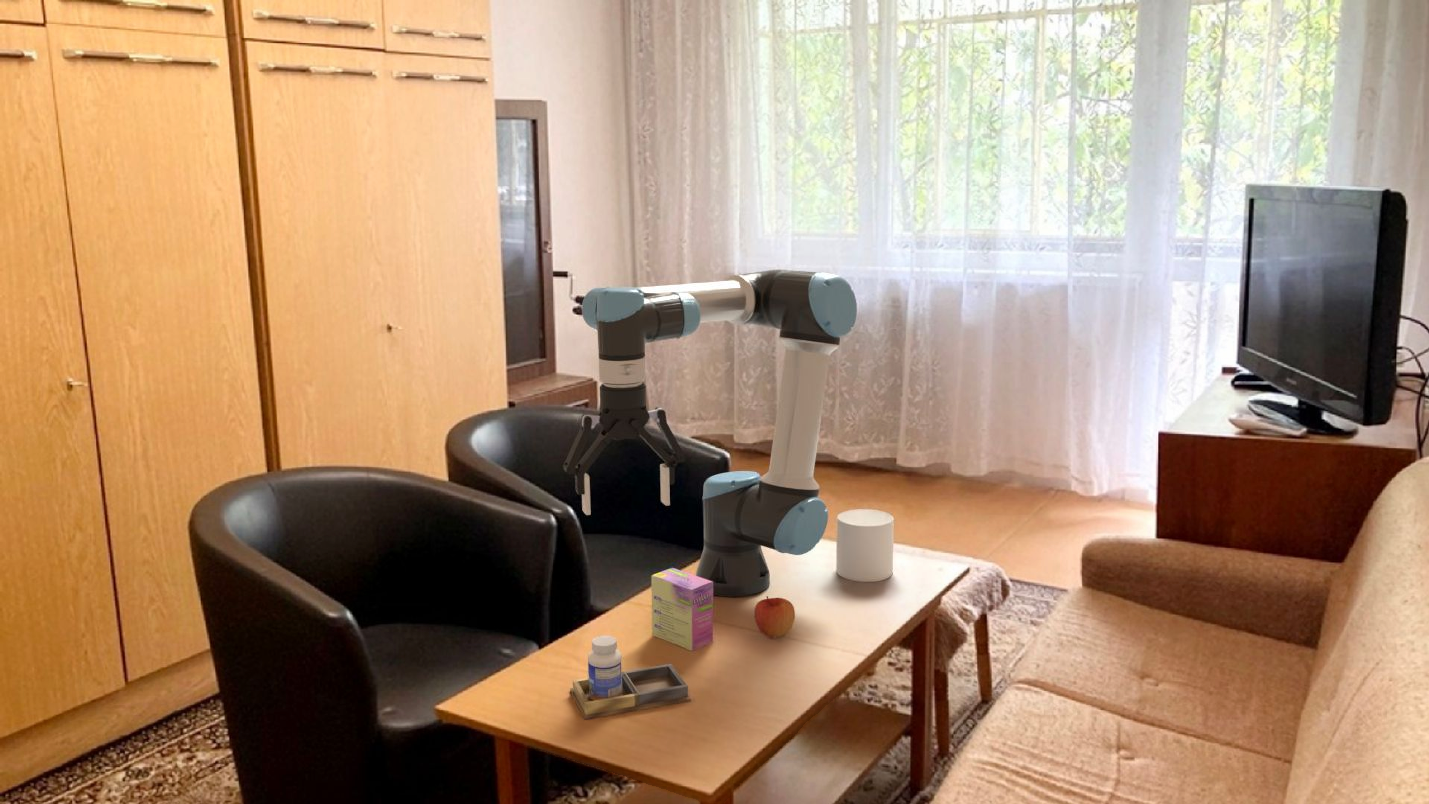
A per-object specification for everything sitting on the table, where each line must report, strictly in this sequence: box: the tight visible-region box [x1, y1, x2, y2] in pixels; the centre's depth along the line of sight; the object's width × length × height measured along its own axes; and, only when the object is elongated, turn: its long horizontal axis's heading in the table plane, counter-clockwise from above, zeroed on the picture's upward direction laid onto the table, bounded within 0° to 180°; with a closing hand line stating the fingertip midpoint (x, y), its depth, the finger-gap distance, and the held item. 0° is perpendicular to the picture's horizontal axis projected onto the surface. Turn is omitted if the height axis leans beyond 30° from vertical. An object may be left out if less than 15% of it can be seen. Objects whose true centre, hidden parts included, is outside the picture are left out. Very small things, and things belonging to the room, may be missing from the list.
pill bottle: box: [587, 635, 623, 701], centre depth 184 cm, size 5×5×10 cm
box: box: [650, 567, 714, 652], centre depth 206 cm, size 10×6×12 cm, turn 47°
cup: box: [835, 508, 895, 583], centre depth 238 cm, size 12×12×12 cm
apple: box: [754, 596, 796, 640], centre depth 207 cm, size 7×7×8 cm
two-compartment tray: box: [569, 663, 692, 720], centre depth 186 cm, size 18×10×2 cm, turn 110°
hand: (626, 508), depth 190 cm, fingers open, 13 cm apart
